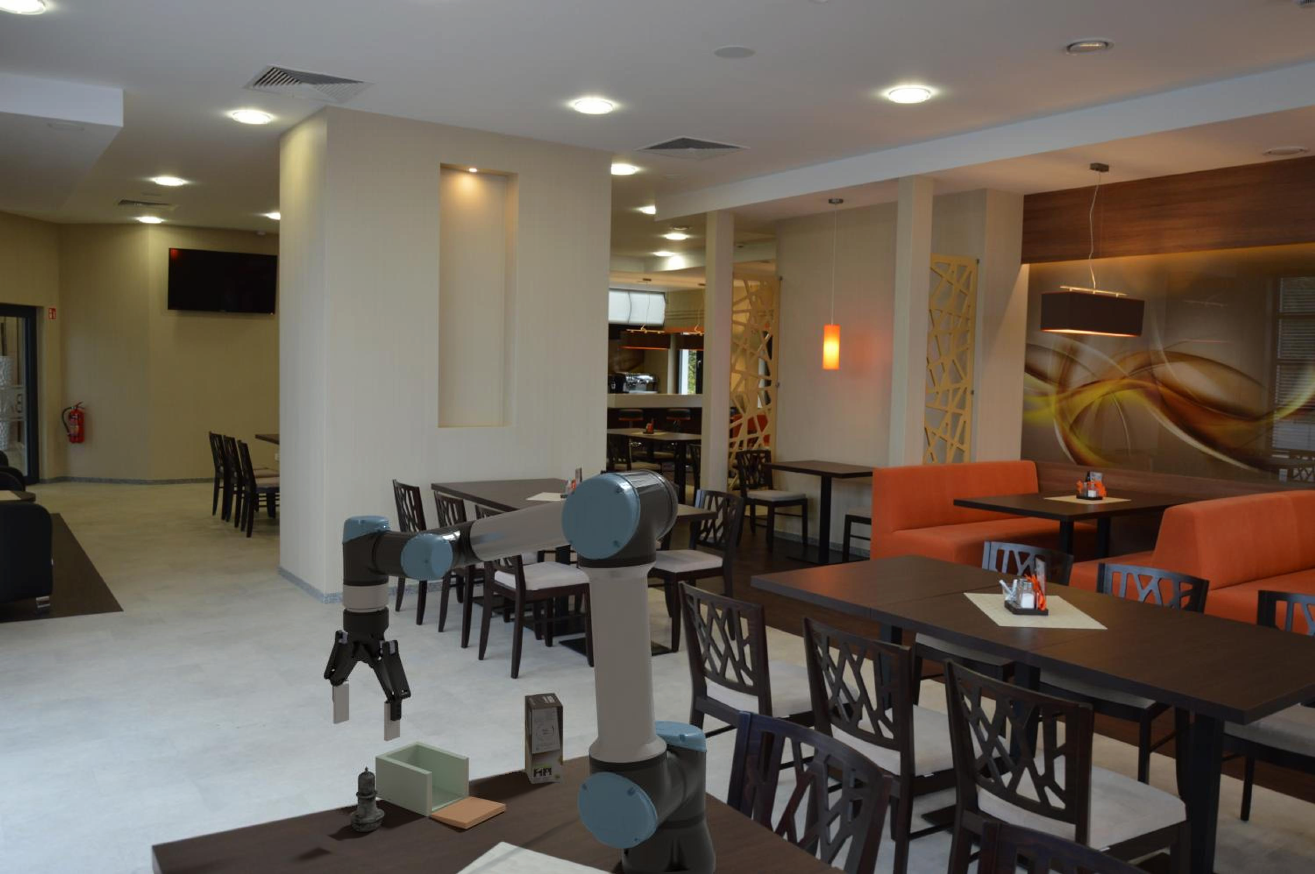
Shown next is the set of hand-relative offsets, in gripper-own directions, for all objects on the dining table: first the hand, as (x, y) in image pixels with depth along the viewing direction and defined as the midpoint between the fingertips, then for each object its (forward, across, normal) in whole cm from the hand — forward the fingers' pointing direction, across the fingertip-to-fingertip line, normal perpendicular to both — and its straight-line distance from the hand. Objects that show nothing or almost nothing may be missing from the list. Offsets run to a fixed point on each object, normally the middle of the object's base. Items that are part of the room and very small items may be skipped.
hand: (366, 730), depth 170 cm
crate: (+18, +2, -14) cm, 23 cm away
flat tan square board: (+17, -6, -14) cm, 23 cm away
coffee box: (+18, -8, -36) cm, 41 cm away
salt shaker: (+18, 0, 0) cm, 19 cm away
